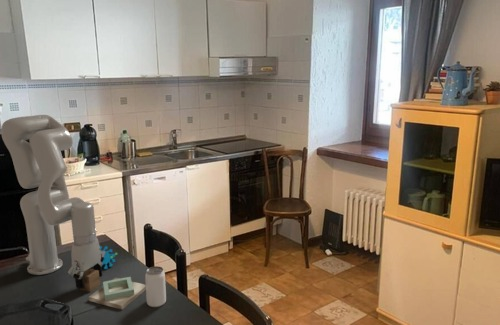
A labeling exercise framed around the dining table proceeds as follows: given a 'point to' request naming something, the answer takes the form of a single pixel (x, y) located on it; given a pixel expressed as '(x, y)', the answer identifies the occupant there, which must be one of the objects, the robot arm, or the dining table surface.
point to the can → (155, 286)
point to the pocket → (118, 293)
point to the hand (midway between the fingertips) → (89, 281)
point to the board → (118, 302)
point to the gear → (108, 257)
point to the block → (90, 280)
